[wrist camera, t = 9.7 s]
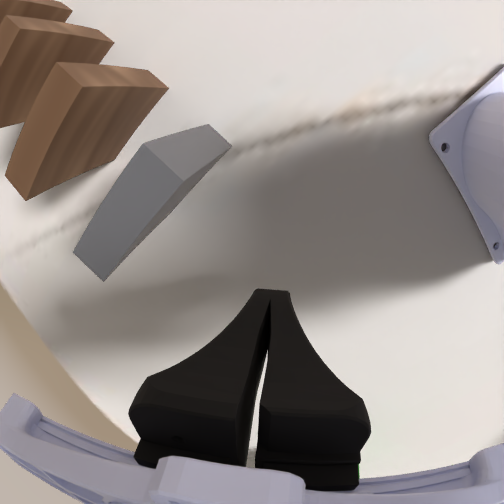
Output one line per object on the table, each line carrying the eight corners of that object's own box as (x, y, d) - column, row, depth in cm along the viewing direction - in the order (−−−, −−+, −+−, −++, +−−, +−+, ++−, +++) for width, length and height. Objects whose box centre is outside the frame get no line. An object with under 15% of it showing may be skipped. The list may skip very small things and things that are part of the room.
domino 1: (72, 10, 11) (-15, -4, 5) (32, 76, 13) (-54, 88, 7) (60, 2, 11) (-24, -12, 5) (21, 66, 13) (-61, 76, 7)
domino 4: (232, 146, 14) (183, 181, 8) (170, 213, 16) (103, 281, 10) (208, 124, 14) (143, 143, 8) (149, 193, 16) (72, 252, 10)
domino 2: (114, 42, 12) (20, 28, 6) (67, 113, 14) (-25, 135, 8) (98, 29, 12) (5, 15, 6) (53, 99, 14) (-38, 116, 8)
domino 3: (169, 88, 13) (82, 86, 7) (114, 159, 15) (25, 201, 9) (148, 70, 13) (56, 62, 7) (96, 142, 15) (4, 175, 9)
